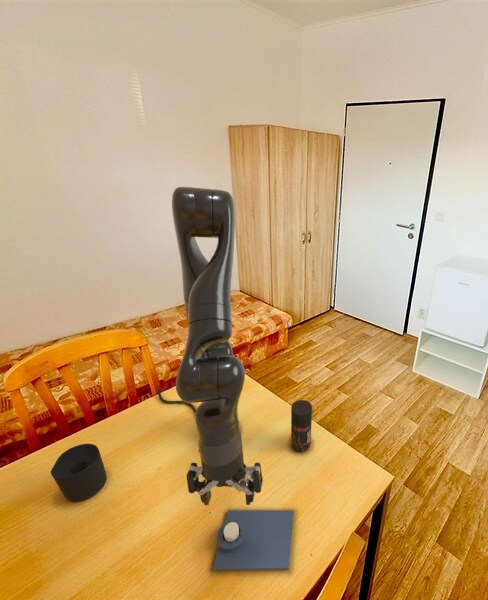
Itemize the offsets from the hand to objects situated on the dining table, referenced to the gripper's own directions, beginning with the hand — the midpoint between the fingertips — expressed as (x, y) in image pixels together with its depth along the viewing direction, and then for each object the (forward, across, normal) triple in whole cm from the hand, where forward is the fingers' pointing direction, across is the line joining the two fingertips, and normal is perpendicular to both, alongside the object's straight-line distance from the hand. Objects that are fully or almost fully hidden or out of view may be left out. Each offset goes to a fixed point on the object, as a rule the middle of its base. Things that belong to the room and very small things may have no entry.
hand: (228, 500), depth 67 cm
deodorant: (+14, -14, -26) cm, 33 cm away
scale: (+14, -5, 0) cm, 15 cm away
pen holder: (+14, +40, -13) cm, 45 cm away
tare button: (+12, 0, 0) cm, 12 cm away
